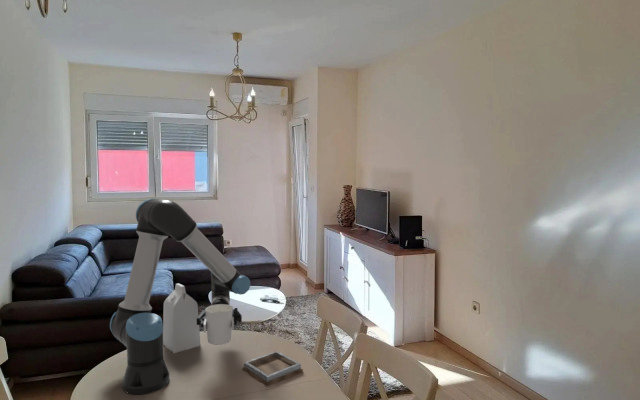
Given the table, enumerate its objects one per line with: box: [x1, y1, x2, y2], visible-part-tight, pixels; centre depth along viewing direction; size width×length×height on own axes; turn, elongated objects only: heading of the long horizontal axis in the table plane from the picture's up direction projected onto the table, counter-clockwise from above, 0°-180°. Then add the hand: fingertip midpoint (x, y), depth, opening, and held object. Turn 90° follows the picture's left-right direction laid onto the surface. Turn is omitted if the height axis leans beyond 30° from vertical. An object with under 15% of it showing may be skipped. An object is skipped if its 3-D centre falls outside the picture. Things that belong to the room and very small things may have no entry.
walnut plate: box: [241, 357, 304, 387], centre depth 156 cm, size 16×16×1 cm
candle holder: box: [204, 304, 234, 346], centre depth 154 cm, size 10×10×12 cm
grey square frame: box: [243, 350, 302, 383], centre depth 156 cm, size 15×15×2 cm
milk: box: [162, 283, 201, 354], centre depth 179 cm, size 12×12×26 cm
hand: (218, 327), depth 149 cm, fingers closed on candle holder, 9 cm apart
